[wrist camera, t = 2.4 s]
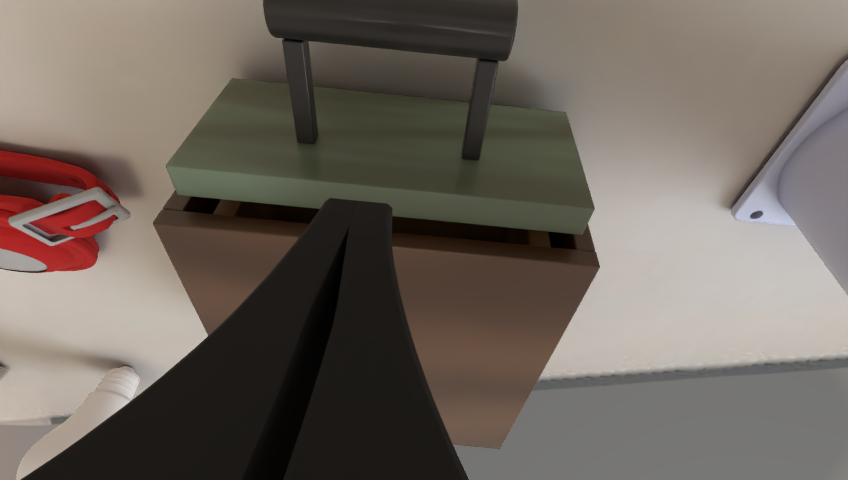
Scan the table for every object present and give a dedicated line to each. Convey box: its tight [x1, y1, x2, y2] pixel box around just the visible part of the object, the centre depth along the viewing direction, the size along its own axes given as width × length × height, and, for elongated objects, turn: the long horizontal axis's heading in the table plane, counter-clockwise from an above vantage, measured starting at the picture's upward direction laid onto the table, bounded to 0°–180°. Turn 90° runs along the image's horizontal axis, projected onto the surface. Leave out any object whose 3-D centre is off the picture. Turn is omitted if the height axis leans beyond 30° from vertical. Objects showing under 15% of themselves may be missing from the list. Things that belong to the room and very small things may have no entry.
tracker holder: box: [0, 150, 130, 273], centre depth 23 cm, size 12×4×10 cm
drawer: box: [166, 0, 595, 247], centre depth 20 cm, size 20×13×6 cm, turn 176°
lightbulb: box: [16, 366, 140, 480], centre depth 34 cm, size 6×6×11 cm
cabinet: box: [153, 190, 600, 449], centre depth 23 cm, size 16×14×7 cm
